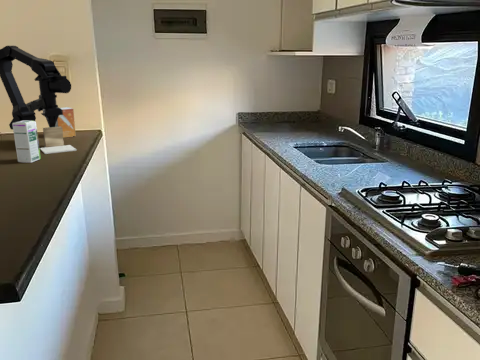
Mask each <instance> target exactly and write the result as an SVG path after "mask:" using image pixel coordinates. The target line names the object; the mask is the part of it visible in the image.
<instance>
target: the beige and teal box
mask: <svg viewBox="0 0 480 360" xmlns="http://www.w3.org/2000/svg"><path fill="white" fill-rule="evenodd" d="M42 132H43V141H44V143H43V144H44V148H45V147H55V146H64V145H65V142H64V138H63V129H62V127H61V126H60V127H49V126H47V127H42Z"/></svg>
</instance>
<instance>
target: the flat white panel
mask: <svg viewBox="0 0 480 360" xmlns="http://www.w3.org/2000/svg"><path fill="white" fill-rule="evenodd" d="M39 148H40V152H42V153H43V154H44V155H47V154H48V155H49V154H58V153H66V152H67V153H68V152H76V151H77V148H76V147H74V146H72V144H67V145H65V144H64V146H55V147H45V146H44V147H39Z"/></svg>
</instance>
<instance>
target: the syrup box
mask: <svg viewBox="0 0 480 360" xmlns="http://www.w3.org/2000/svg"><path fill="white" fill-rule="evenodd" d="M12 125H13V138H14V145H15V150H16V156H17V157H16V158H17V162H18V163H24V164H26V163H27V164H28V163H34V162H36V161H39V160H41V159H42V157H41V150H40V148H41V147H40V141H39V134H38V127H37V122H36V120H35V121H32V120H25V121H20V122H16V123H12Z"/></svg>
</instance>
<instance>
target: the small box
mask: <svg viewBox="0 0 480 360" xmlns="http://www.w3.org/2000/svg"><path fill="white" fill-rule="evenodd" d="M59 108H60V109H62V110H63V115H59V116H58V119H57V122H56V125H55V127H60V126H61V127H62V129H63V139H64V138H66V139H67V138H73V136H75V137H76V136H77V135H76V124H75V122H76V121H75V112H74V108H73V107H69V106H68V107H66V106H65V107H59Z"/></svg>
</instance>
